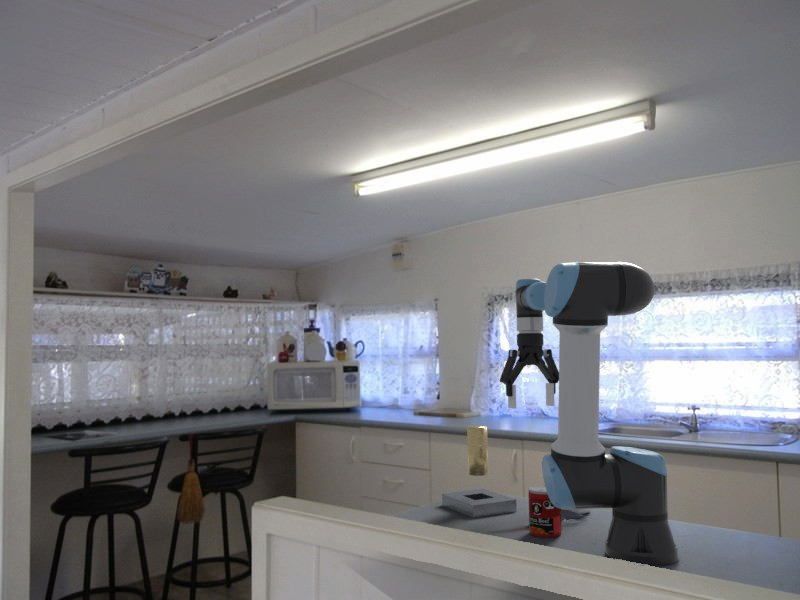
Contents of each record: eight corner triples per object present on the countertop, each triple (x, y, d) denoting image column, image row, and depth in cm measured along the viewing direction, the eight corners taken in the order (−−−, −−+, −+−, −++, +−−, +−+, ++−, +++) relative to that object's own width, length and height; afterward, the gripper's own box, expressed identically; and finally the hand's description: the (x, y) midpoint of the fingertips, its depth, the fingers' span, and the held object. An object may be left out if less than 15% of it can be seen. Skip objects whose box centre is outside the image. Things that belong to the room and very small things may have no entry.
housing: (516, 516, 185) (516, 499, 185) (473, 522, 178) (473, 505, 179) (483, 504, 199) (483, 488, 199) (442, 510, 193) (442, 493, 193)
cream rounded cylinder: (492, 474, 188) (491, 427, 189) (475, 476, 186) (474, 428, 187) (480, 471, 193) (479, 425, 194) (464, 473, 191) (463, 426, 192)
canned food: (523, 534, 168) (522, 488, 168) (540, 527, 174) (539, 483, 174) (550, 540, 162) (549, 493, 163) (567, 533, 168) (566, 487, 169)
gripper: (555, 332, 205) (557, 403, 203) (486, 332, 193) (487, 408, 192) (572, 332, 198) (574, 405, 197) (502, 332, 187) (503, 410, 185)
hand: (531, 407), depth 194 cm, fingers open, 13 cm apart
